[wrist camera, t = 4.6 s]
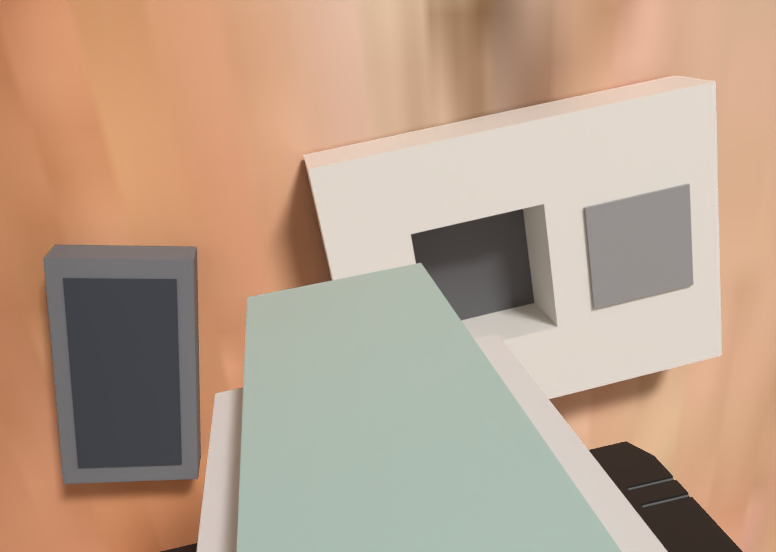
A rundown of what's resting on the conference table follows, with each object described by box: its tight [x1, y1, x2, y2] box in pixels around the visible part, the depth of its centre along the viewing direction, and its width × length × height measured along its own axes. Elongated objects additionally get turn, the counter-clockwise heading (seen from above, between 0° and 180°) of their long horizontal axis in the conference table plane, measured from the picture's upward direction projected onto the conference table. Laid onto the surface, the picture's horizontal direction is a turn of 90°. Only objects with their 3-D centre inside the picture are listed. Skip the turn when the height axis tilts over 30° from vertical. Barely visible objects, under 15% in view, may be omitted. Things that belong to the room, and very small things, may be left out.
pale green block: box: [237, 263, 622, 552], centre depth 12 cm, size 4×4×12 cm
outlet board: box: [303, 75, 722, 399], centre depth 31 cm, size 12×16×3 cm
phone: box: [44, 245, 201, 484], centre depth 31 cm, size 10×6×2 cm, turn 176°
